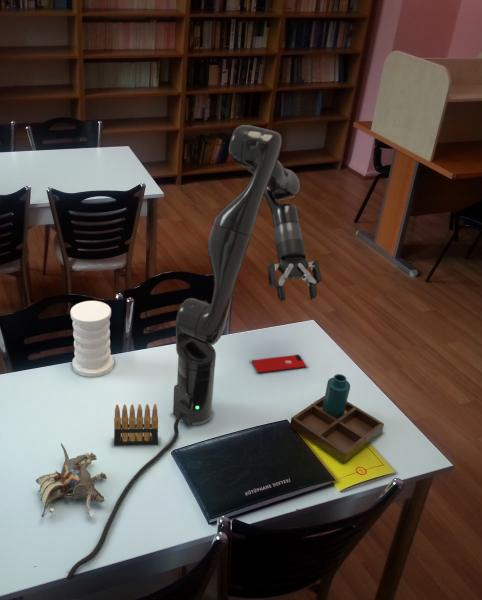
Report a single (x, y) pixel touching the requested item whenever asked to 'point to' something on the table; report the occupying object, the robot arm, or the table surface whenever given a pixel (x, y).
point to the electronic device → (278, 363)
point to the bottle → (336, 396)
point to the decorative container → (91, 338)
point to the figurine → (71, 482)
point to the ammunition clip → (135, 427)
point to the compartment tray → (337, 429)
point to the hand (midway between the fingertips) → (298, 299)
